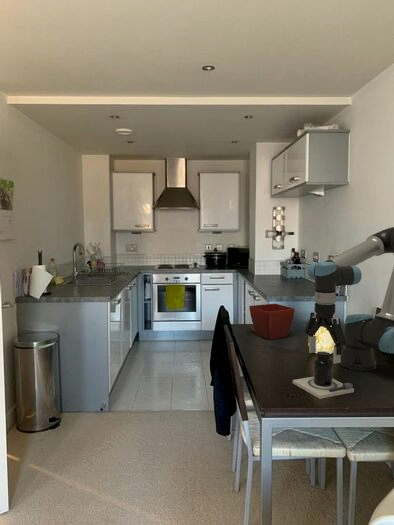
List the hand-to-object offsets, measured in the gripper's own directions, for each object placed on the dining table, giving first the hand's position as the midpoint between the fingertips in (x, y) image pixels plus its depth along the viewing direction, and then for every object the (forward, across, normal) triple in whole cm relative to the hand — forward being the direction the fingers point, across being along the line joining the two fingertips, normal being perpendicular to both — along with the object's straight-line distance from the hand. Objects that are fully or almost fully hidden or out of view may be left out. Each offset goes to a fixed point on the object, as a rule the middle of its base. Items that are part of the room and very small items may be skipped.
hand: (324, 357), depth 152 cm
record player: (+12, 0, -1) cm, 12 cm away
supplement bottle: (+10, 0, 0) cm, 11 cm away
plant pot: (+13, -71, +23) cm, 76 cm away
